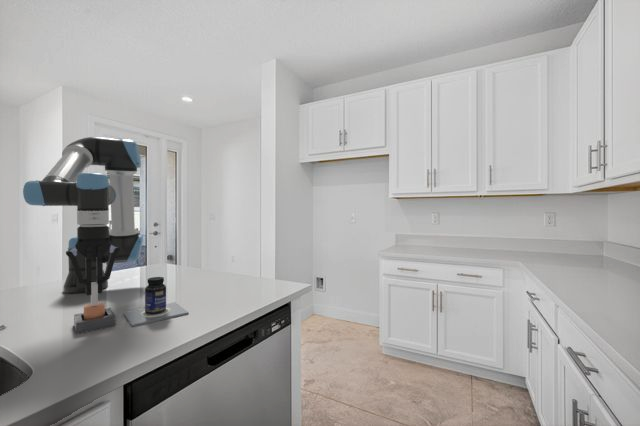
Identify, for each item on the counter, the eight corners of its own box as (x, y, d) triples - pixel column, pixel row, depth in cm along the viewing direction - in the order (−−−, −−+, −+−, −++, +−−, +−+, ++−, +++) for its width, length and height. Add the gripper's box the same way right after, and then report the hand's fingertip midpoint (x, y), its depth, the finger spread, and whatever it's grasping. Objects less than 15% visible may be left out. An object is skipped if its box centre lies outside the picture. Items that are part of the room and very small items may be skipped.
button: (83, 321, 89) (82, 305, 89) (103, 317, 92) (103, 301, 92) (84, 326, 85) (84, 309, 85) (106, 322, 89) (105, 305, 89)
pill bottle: (156, 315, 95) (156, 281, 94) (140, 314, 96) (140, 279, 96) (170, 309, 101) (170, 276, 100) (154, 307, 102) (154, 275, 102)
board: (123, 314, 98) (123, 312, 98) (175, 303, 109) (175, 301, 109) (132, 326, 88) (132, 324, 88) (188, 313, 98) (188, 311, 98)
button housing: (74, 324, 89) (73, 314, 89) (110, 317, 95) (110, 307, 95) (76, 334, 82) (76, 323, 82) (115, 325, 89) (115, 315, 88)
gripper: (65, 227, 81) (66, 313, 81) (121, 225, 90) (122, 303, 90) (64, 226, 87) (64, 306, 87) (117, 224, 95) (118, 297, 96)
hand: (94, 304), depth 89 cm, fingers closed
